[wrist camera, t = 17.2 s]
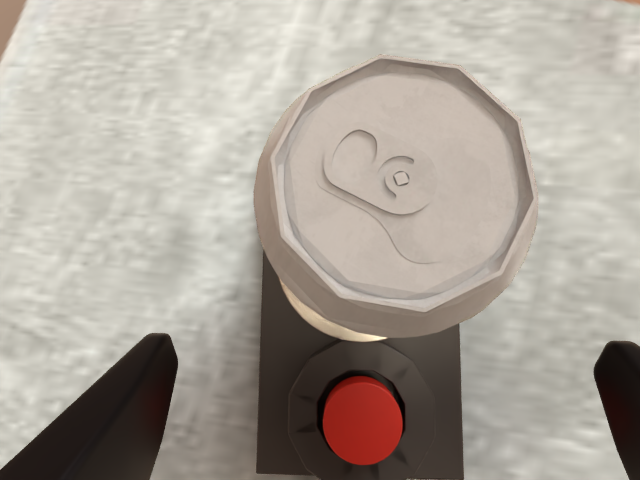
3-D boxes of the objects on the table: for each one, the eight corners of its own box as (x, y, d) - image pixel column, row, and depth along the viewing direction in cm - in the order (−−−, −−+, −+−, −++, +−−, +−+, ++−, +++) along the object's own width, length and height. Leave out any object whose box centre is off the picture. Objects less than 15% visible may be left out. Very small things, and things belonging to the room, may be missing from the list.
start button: (397, 452, 18) (403, 466, 16) (323, 450, 18) (322, 464, 16) (397, 376, 18) (402, 382, 17) (324, 374, 18) (323, 381, 17)
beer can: (387, 337, 18) (481, 407, 6) (283, 282, 18) (182, 246, 7) (439, 233, 18) (621, 109, 7) (337, 182, 19) (333, -20, 7)
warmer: (456, 470, 20) (477, 499, 17) (260, 464, 21) (247, 491, 18) (449, 191, 22) (466, 174, 19) (268, 191, 22) (258, 174, 19)
